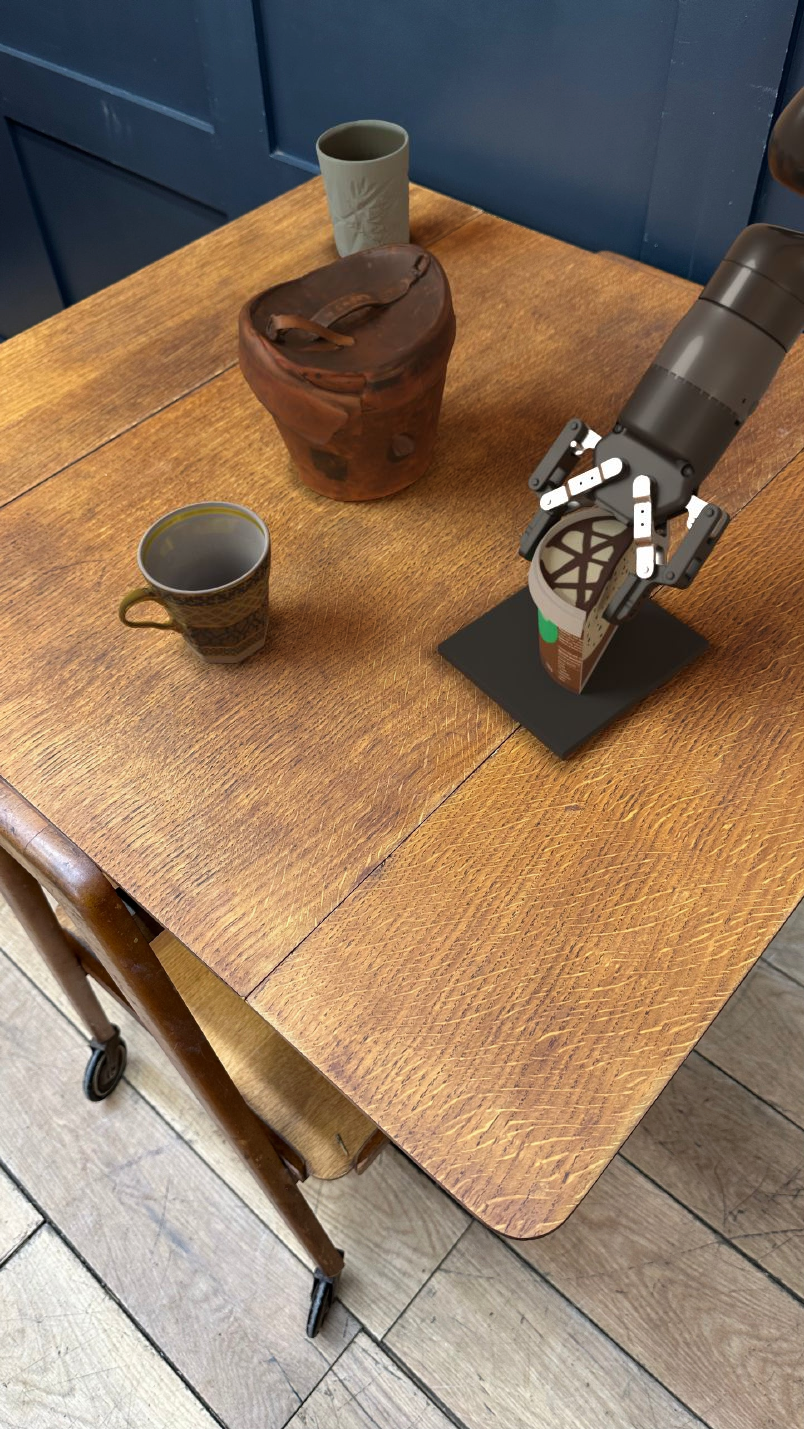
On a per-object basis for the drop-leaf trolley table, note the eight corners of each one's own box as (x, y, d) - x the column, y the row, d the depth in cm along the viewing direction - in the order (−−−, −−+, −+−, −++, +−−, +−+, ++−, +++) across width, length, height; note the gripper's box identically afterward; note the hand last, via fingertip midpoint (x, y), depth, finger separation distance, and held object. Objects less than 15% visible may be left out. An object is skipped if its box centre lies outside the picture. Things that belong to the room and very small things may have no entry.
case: (225, 504, 94) (181, 329, 80) (325, 381, 105) (302, 207, 91) (400, 555, 89) (387, 376, 75) (487, 420, 100) (490, 241, 86)
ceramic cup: (242, 573, 89) (219, 482, 81) (313, 635, 84) (296, 545, 76) (114, 652, 84) (76, 564, 76) (182, 723, 79) (150, 637, 71)
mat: (580, 557, 88) (581, 549, 87) (708, 649, 81) (710, 641, 80) (437, 652, 82) (437, 644, 81) (562, 760, 75) (563, 752, 75)
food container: (562, 576, 85) (571, 482, 77) (632, 601, 83) (649, 506, 75) (497, 680, 79) (499, 588, 71) (571, 708, 77) (582, 617, 69)
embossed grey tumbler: (419, 263, 118) (415, 155, 108) (332, 274, 118) (319, 166, 108) (407, 220, 124) (401, 113, 115) (324, 230, 124) (311, 124, 114)
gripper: (600, 326, 70) (474, 530, 75) (769, 420, 63) (618, 638, 68) (643, 362, 76) (524, 549, 81) (802, 452, 69) (661, 650, 74)
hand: (567, 589), depth 75 cm, fingers open, 8 cm apart
